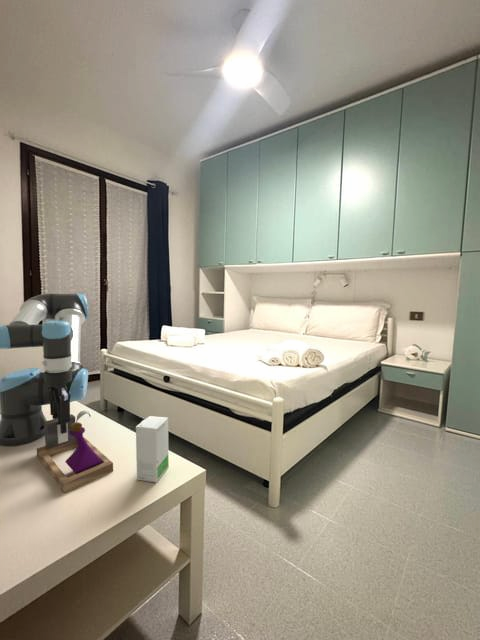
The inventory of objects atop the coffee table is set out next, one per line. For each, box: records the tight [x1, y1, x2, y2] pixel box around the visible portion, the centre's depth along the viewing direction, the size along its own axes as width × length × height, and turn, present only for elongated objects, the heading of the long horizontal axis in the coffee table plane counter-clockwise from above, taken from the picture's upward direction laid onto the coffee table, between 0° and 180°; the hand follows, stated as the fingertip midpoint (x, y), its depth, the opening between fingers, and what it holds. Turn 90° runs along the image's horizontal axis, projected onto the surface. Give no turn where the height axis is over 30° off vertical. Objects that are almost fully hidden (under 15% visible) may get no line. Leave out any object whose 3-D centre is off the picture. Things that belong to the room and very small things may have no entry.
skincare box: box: [135, 415, 170, 483], centre depth 86 cm, size 8×7×16 cm
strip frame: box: [36, 413, 114, 494], centre depth 90 cm, size 24×13×10 cm, turn 48°
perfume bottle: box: [64, 410, 102, 475], centre depth 85 cm, size 8×8×18 cm
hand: (61, 439), depth 97 cm, fingers closed on strip frame, 3 cm apart
